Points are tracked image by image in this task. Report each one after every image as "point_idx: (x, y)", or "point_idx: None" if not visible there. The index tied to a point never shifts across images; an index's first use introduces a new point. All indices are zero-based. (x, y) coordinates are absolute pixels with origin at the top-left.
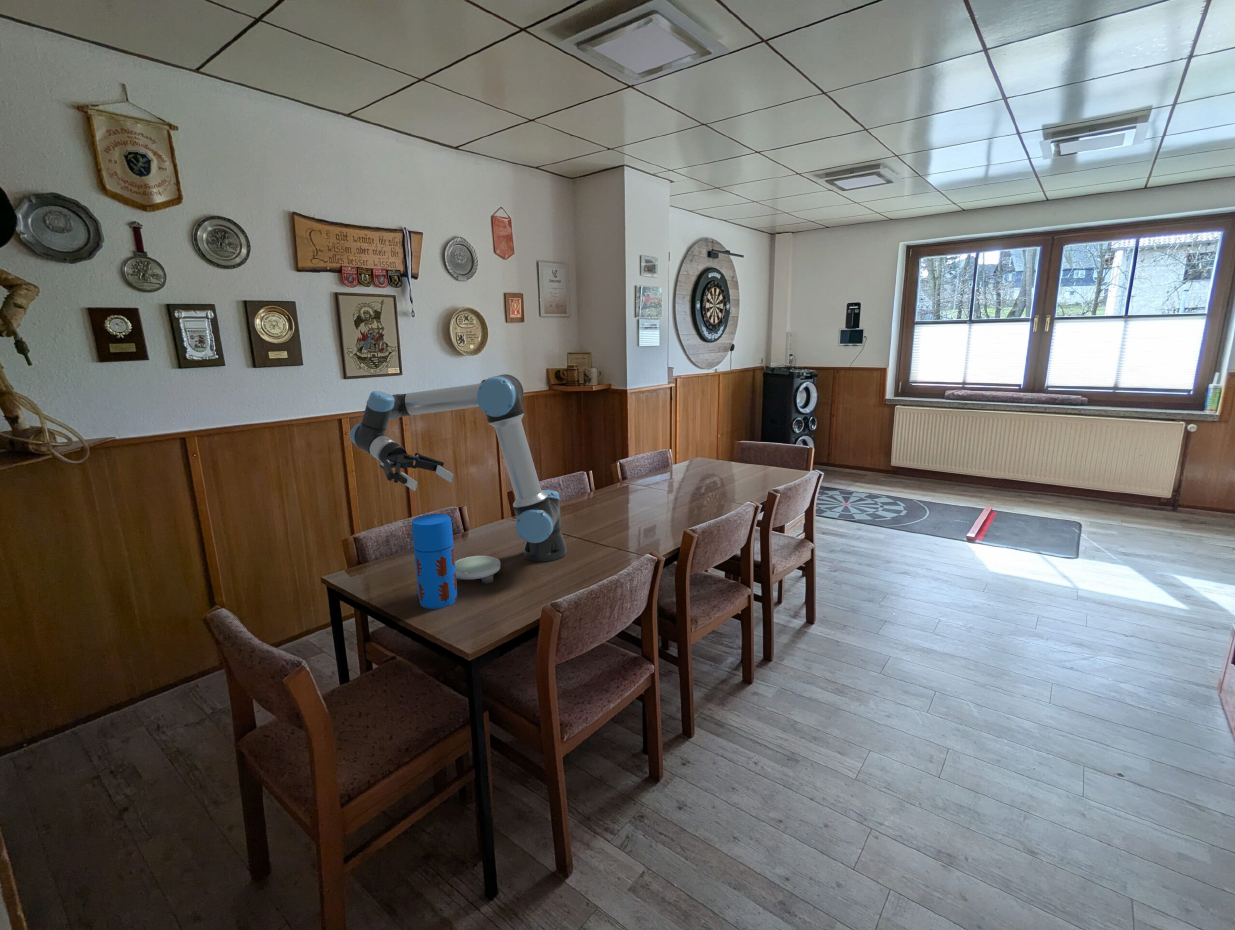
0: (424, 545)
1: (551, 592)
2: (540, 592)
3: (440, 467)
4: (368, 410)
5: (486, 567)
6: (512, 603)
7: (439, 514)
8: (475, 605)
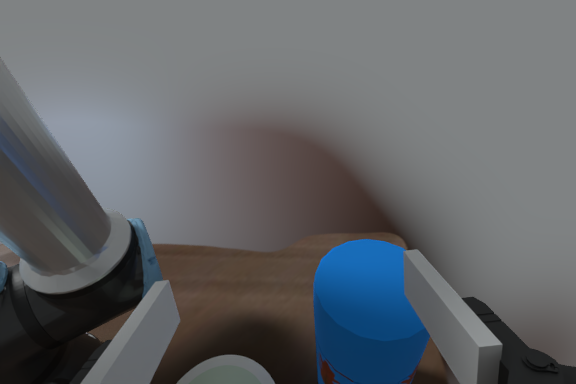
0: None
1: (230, 261)
2: (237, 272)
3: (117, 355)
4: None
5: (224, 375)
6: (285, 277)
7: (327, 301)
8: None
